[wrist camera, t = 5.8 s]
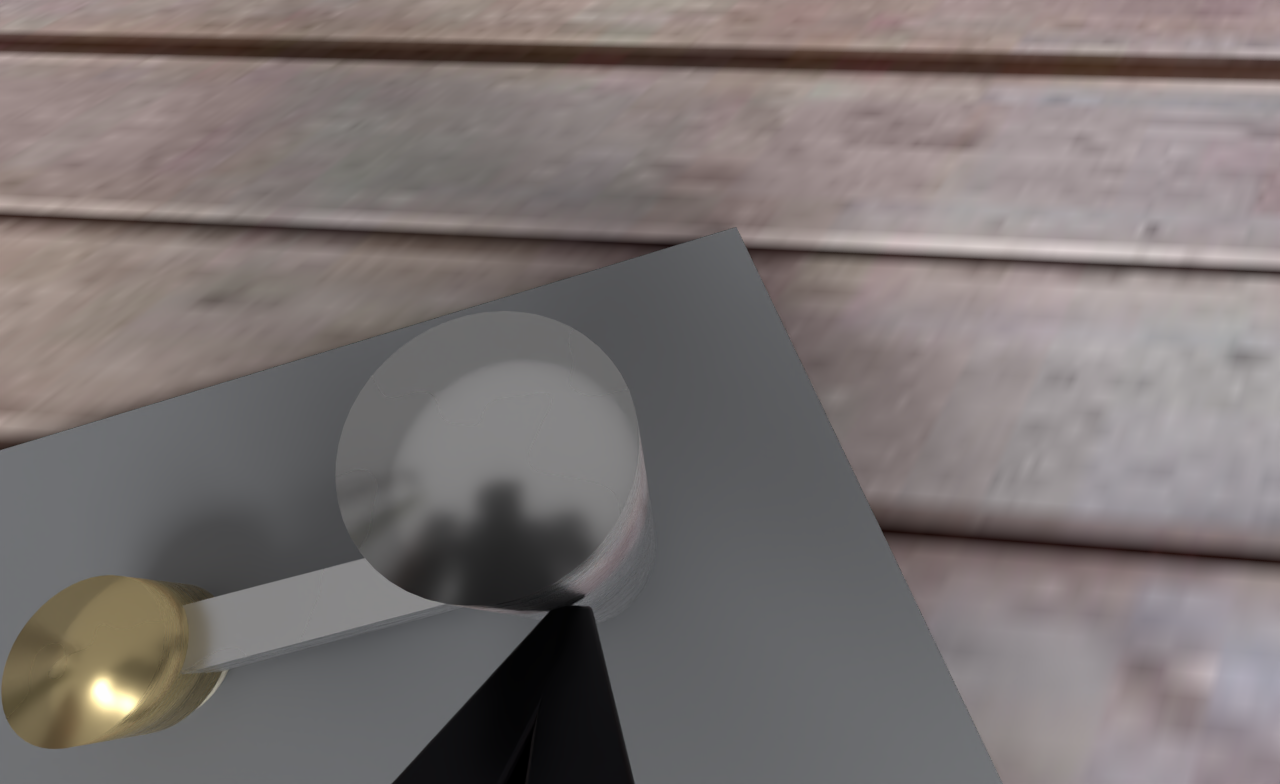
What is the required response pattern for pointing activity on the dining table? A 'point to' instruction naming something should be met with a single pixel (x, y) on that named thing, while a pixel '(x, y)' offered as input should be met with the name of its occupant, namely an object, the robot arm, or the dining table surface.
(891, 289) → the dining table surface
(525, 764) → the robot arm
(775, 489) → the bolt-hole plate
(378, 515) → the ball-knob lever
